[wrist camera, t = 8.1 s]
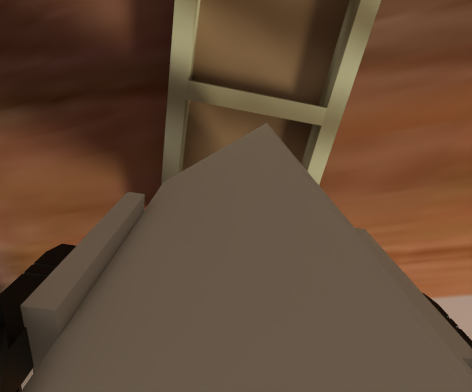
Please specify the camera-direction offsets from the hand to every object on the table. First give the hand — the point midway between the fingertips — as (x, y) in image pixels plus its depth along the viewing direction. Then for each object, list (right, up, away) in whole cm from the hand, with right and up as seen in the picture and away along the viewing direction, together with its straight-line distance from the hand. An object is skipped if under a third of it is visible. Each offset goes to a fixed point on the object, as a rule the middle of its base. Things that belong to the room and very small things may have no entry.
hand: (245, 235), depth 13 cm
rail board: (+1, +9, +8) cm, 12 cm away
